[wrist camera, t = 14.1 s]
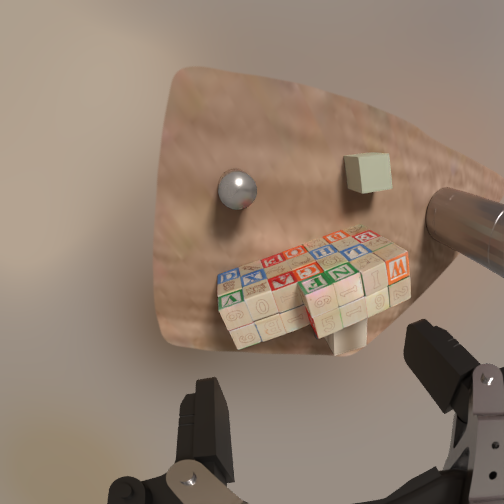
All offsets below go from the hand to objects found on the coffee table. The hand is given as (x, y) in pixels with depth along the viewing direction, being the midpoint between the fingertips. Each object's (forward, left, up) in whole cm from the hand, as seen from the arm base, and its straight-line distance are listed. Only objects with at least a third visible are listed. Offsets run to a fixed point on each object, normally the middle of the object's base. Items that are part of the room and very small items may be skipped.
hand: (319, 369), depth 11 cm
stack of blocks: (-5, +9, -28) cm, 30 cm away
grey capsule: (+1, -4, -28) cm, 28 cm away
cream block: (-10, +18, -27) cm, 34 cm away
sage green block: (-16, -3, -28) cm, 33 cm away
